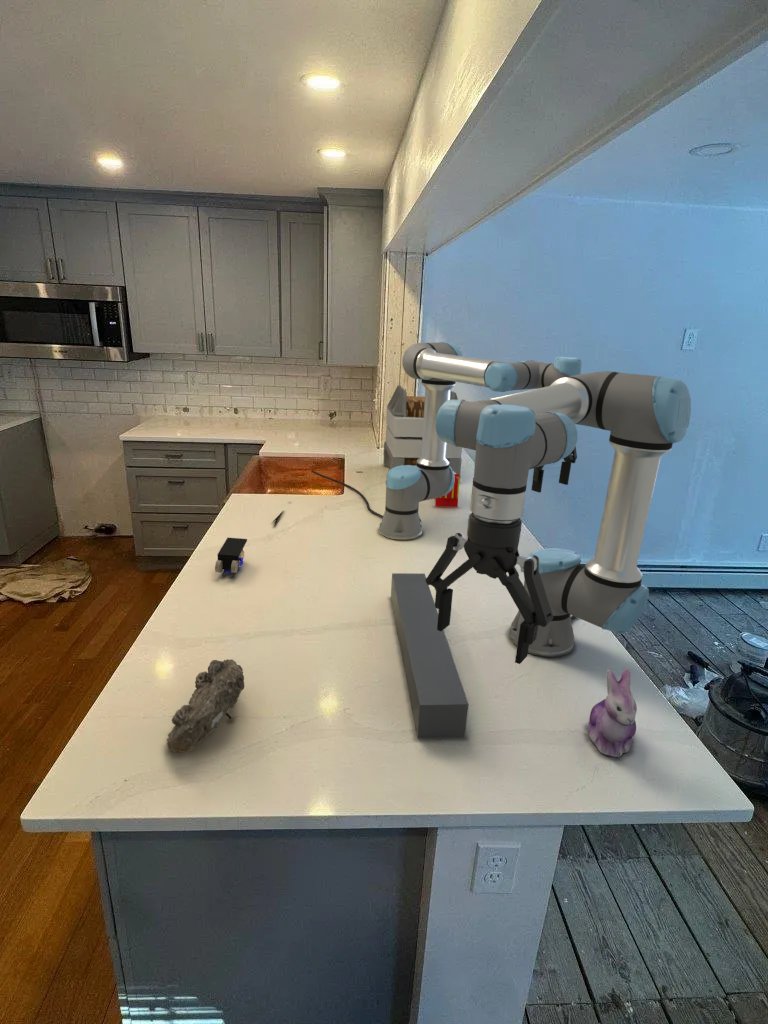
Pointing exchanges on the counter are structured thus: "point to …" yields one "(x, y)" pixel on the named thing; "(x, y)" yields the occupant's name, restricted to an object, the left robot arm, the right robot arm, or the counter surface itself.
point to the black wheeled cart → (230, 556)
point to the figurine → (614, 717)
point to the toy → (450, 495)
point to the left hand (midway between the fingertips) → (550, 487)
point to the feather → (277, 518)
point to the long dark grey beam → (427, 661)
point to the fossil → (206, 705)
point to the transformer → (410, 432)
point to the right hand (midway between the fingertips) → (480, 642)
